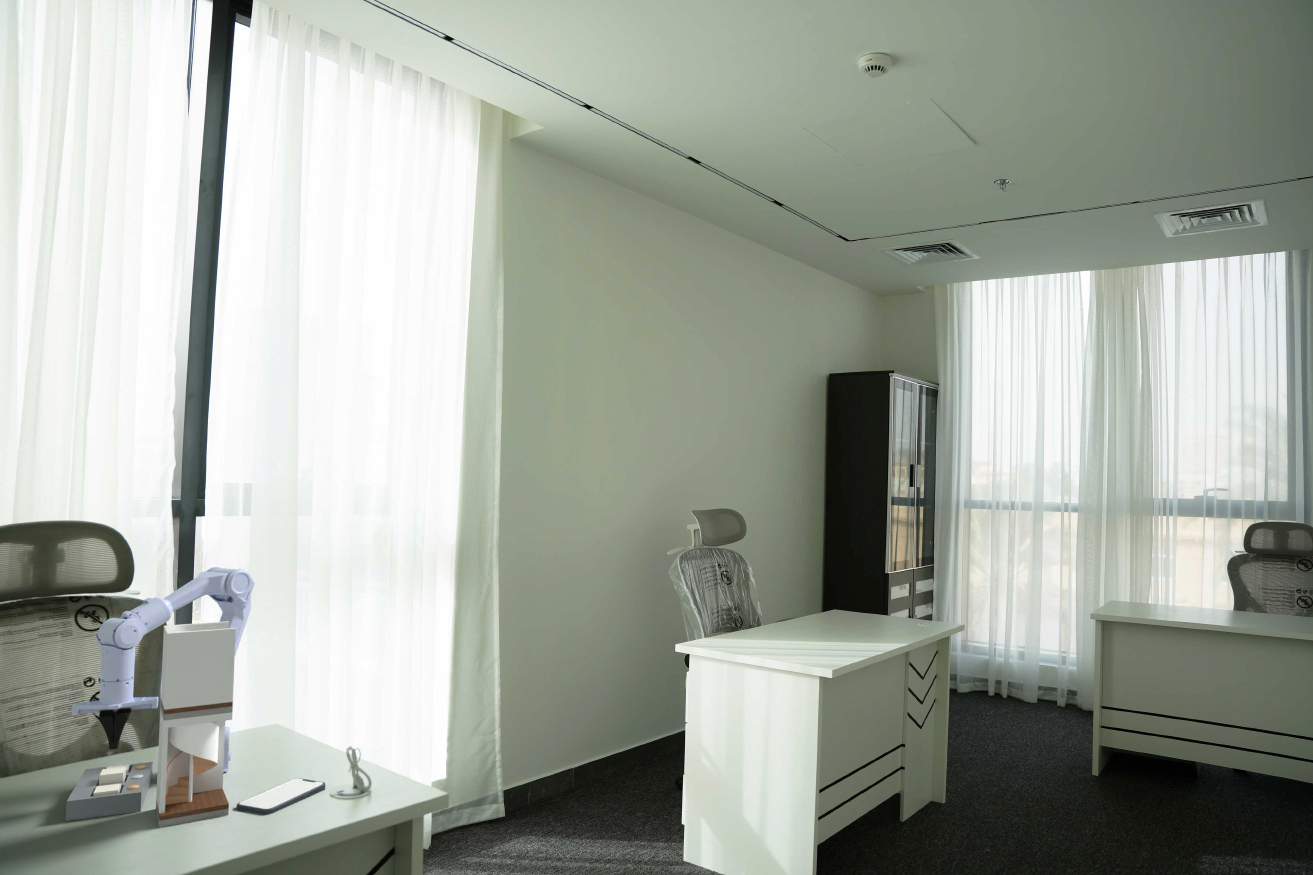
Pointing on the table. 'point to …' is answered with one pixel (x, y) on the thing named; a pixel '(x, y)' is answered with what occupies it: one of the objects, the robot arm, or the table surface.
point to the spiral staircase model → (194, 721)
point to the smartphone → (281, 796)
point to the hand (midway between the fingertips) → (114, 747)
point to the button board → (127, 801)
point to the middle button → (112, 776)
